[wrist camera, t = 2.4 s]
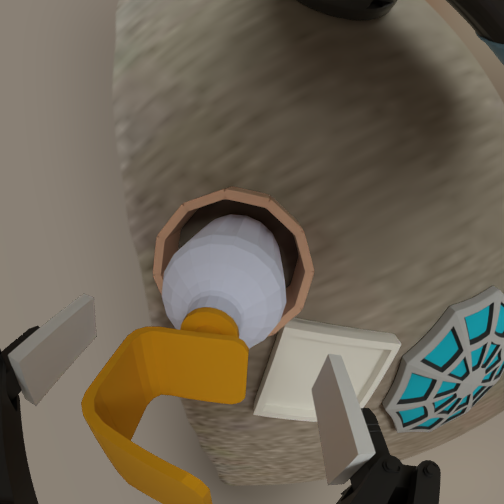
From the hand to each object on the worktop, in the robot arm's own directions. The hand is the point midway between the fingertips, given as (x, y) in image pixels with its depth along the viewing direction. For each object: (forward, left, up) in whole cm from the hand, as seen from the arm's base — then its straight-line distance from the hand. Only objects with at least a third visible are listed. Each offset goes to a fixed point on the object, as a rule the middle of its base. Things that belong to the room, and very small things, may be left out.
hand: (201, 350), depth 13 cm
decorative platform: (+11, +40, -16) cm, 45 cm away
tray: (+13, +14, -16) cm, 25 cm away
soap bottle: (0, 0, -16) cm, 16 cm away
